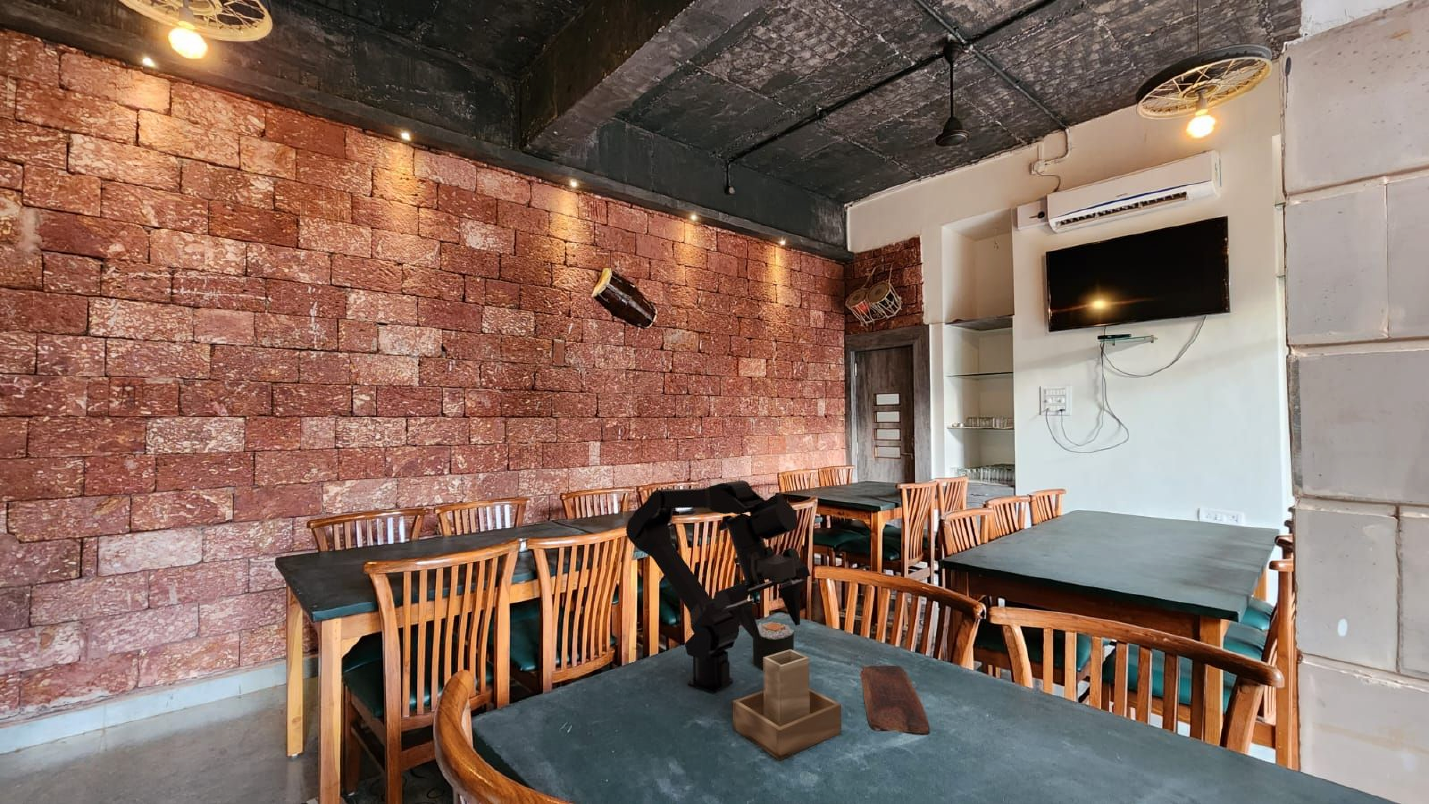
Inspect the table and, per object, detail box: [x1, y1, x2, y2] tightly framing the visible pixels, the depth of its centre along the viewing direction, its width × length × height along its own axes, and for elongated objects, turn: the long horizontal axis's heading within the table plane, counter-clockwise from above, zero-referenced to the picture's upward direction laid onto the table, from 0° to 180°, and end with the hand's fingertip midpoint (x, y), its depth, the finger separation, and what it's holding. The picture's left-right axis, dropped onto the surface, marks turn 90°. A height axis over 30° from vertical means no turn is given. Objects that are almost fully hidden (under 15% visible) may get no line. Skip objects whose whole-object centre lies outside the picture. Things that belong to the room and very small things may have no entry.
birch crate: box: [762, 649, 810, 727], centre depth 96 cm, size 4×6×11 cm
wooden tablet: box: [859, 665, 931, 736], centre depth 108 cm, size 26×2×10 cm
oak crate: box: [732, 687, 842, 762], centre depth 96 cm, size 11×13×4 cm
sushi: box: [752, 621, 795, 671], centre depth 123 cm, size 8×8×8 cm
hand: (778, 633), depth 104 cm, fingers open, 9 cm apart
